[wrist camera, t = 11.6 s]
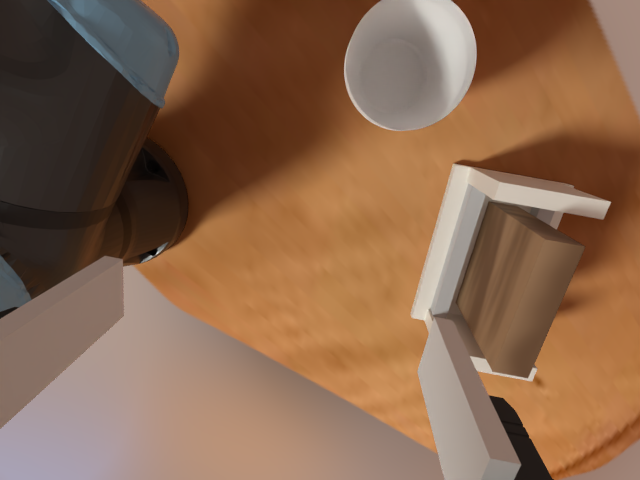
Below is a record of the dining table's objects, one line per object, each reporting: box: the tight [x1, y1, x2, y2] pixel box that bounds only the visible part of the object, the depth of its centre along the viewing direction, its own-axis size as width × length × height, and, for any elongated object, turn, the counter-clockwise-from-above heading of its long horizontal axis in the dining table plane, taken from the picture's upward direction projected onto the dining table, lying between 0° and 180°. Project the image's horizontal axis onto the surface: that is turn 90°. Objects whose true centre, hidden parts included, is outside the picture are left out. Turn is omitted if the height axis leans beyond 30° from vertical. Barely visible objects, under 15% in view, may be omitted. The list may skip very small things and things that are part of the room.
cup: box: [344, 0, 477, 131], centre depth 31 cm, size 9×9×12 cm
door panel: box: [456, 201, 585, 378], centre depth 35 cm, size 3×12×12 cm, turn 171°
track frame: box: [411, 163, 611, 381], centre depth 38 cm, size 12×18×9 cm, turn 171°
